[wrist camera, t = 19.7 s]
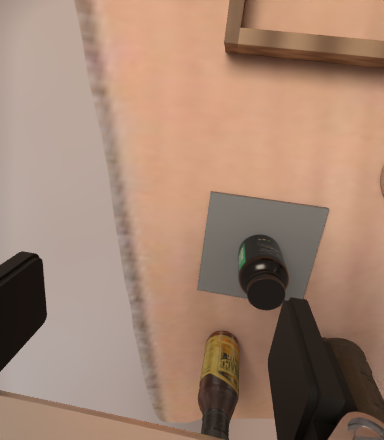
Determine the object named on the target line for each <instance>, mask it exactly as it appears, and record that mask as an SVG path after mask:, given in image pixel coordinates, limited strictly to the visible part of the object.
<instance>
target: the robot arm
mask: <svg viewBox="0 0 384 440" xmlns="http://www.w3.org/2000/svg"><path fill="white" fill-rule="evenodd" d="M381 188H382V192H383V195H384V167H383V170H382V175H381ZM46 317H47V311H46V298H45V287H44V275H43V262H42V259H40V258H39V256H38V255H37V254H34V253H29V252H19V253H18V254H16V255H15V256H13V257H12V258H10V259H9V260H7V261H6V262H4V263H3V264H1V265H0V371H1V370H2V369H3V368H4V367H5V366H6V365H7V364H8V363H9V361H10V360H11V359H12V358H13V357H14V356H15V355H16V354H17V353H18V351H19V350H20V349H21V348H22V347H23V346H24V345H25V344H26V342H27V341H28V340H29V339H30V338H31V337H32V336H33V335H34V334H35V332H36V331H37V330H38V329H39V328H40V327H41V326H42V325H43V323H44V322H45V320H46ZM268 370H269V378H270V386H271V393H272V401H273V409H274V417H275V424H276V432H277V439H278V440H384V423H382V422H381V421H379V420H378V419H376V418H374V417H373V416H370V415H368V414H365V413H361V412H359V411H358V409H357V407H356V404H355V402H354V399H353V397H352V394H351V392H350V390H349V387H348V385H347V382H346V380H345V377H344V375H343V372H342V370H341V368H340V365H339V363H338V360H337V358H336V355H335V353H334V351H333V348H332V346H331V344H330V343H329V342H328V341H323V340H322V338H321V335H320V332H319V330H318V327H317V324H316V322H315V319H314V317H313V314H312V311H311V309H310V306H309V304H308V301H307V300H305V299H299V298H293V297H290V298H289V300H288V301H287V300H284V301H283V304H282V308H281V312H280V315H279V319H278V323H277V327H276V330H275V334H274V338H273V342H272V345H271V349H270V353H269V357H268ZM0 440H224V439H220V438H216V437H212V436H208V435H204V434H199V433H195V432H190V431H186V430H181V429H176V428H171V427H167V426H163V425H158V424H154V423H149V422H145V421H140V420H136V419H131V418H127V417H122V416H118V415H113V414H108V413H104V412H99V411H95V410H90V409H85V408H80V407H76V406H71V405H67V404H62V403H57V402H52V401H48V400H43V399H39V398H34V397H29V396H24V395H20V394H15V393H10V392H5V391H1V390H0Z"/></svg>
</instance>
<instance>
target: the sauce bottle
mask: <svg viewBox="0 0 384 440" xmlns="http://www.w3.org/2000/svg"><path fill="white" fill-rule="evenodd" d="M238 395H239V347H238V341H237V340H236V337H234V336H233V335H232V334H230V333H228V332H226V331H218V332H215V333H213V334H212V335H210V337H209V338H208V340H207V343H206V348H205V354H204V360H203V366H202V372H201V378H200V389H199V394H198V403H199V407H200V410H201V412H202V414H203V418H202V421H203V423H202V430H201V434H204V435H208V436H212V437H216V438H220V439H224V440H229V438H228V435H229V434H228V432H229V423H230V420H231V417H232V414H233V412H234V409H235V406H236V404H237V401H238Z"/></svg>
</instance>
